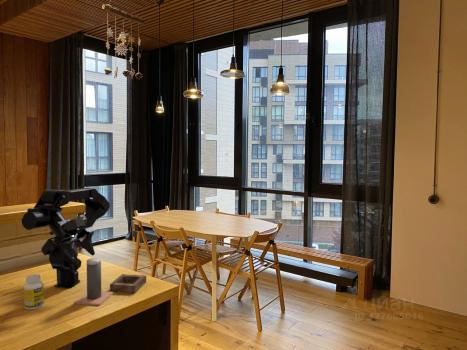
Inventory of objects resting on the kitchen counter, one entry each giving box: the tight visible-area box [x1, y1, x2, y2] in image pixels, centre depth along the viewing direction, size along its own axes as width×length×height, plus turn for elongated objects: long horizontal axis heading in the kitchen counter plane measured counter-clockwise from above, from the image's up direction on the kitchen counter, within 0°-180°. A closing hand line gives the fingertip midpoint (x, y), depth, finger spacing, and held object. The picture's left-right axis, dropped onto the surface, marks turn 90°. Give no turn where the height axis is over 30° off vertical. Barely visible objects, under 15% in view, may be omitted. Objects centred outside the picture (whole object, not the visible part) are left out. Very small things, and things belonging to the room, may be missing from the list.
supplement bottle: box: [23, 273, 45, 310], centre depth 110 cm, size 5×5×10 cm
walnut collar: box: [109, 273, 147, 294], centre depth 126 cm, size 10×10×2 cm
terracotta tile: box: [73, 290, 115, 307], centre depth 116 cm, size 9×9×1 cm
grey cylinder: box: [86, 257, 102, 300], centre depth 116 cm, size 4×4×13 cm
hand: (83, 258), depth 116 cm, fingers open, 9 cm apart
